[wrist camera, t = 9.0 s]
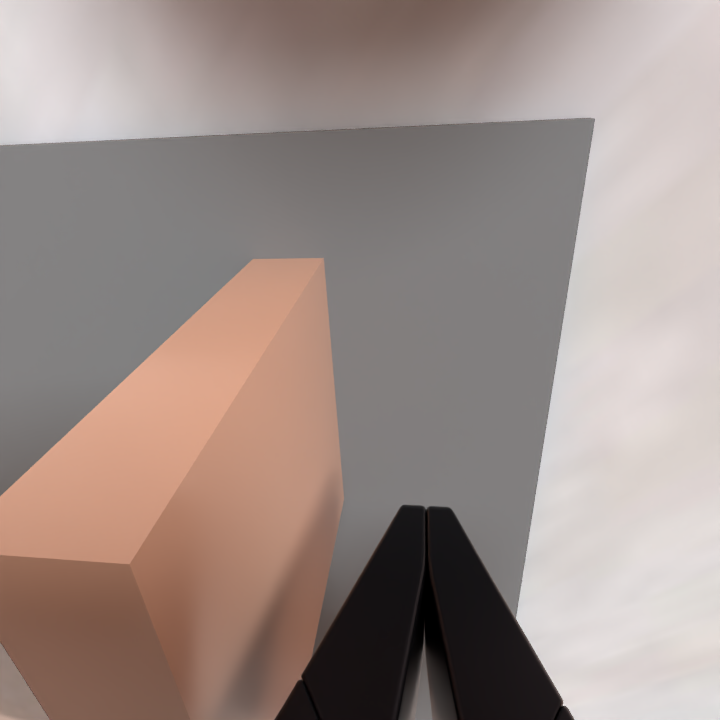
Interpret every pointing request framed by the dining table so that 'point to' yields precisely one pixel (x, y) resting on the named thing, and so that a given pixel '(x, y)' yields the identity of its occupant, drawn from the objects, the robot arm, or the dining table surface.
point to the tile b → (186, 519)
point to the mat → (344, 296)
